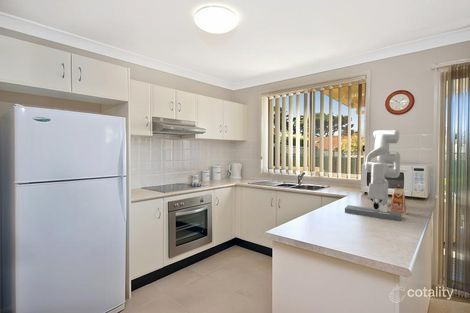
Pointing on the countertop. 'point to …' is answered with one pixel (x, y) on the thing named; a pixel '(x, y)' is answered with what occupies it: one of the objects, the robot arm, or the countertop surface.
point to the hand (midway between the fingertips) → (376, 209)
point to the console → (373, 212)
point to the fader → (383, 207)
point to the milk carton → (398, 201)
